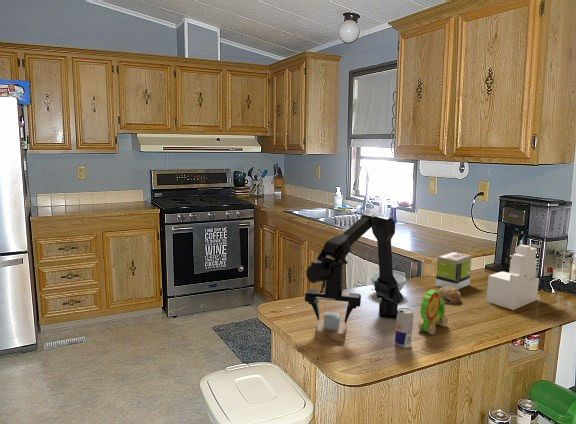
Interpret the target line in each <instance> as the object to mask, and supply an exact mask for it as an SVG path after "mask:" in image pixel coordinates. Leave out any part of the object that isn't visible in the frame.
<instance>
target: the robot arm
mask: <svg viewBox="0 0 576 424" xmlns="http://www.w3.org/2000/svg"><path fill="white" fill-rule="evenodd" d="M370 229H371V230H372V231H371V232H372V235H373V236H374V238H375V240H376V242H377V256H378V271H379V272H378V273H379V277H378V279H377V280H376V281H375V282H374V284H375V287H374V291H375V294H376V297H377V299H380V301H379V306H378V314H379V316H380V318H387V319H388V318H390V319H396V316H397V310H398V309H399V307H398V306H399V304H401V303H402V302H403V300H404V295H403V294H402V292H401V290H400V291H399V289H398V283H397V281H396V279H395V278H394V276H393V274H394V271H393V256H392V255H393V254H392V253H393V252H392V238H393V237H394V235H395V233H396V221H395V220H394V219H393V218H392V217H387V216H383V215H374V214H370V213H364V214H362V215H361V216H360V218H359V219H358V220H356V222H354V223H353V224H351V226H349V227H348V229H346V230H344V232H343V233H342V234H339V235H337V236H333V237H332V238H330V239H329V240H327V241H326V242H325V243H324V245H323V247H322V249H321V251H320V253H319V254H318V256H317V258H316V260H317V261H311V263H310V265H309V266H308V267H307V268H306V273H305V275H306V278H307V280H308V282H309V283H311V284H316V283H320V282H322V285H321V286H322V288H324V293H319V289H313V288H308V289H306V292H305V294H304V302H306V303H308V305H311V307H312V309H313V311H314V313H315V317H316V320H317V322H318V321H319V320H320V300H326V301H336V302H347V306H346V311H345V317H344V322H345V323H346V322H347V323H348V320H349V316H350V314H351V313H352V311H353V309H354V310H355V309H357V307H358V308H359V307H361V301H362V296H361V294H360V293H357V292H356V293H354V292H349V295H344V294H343V289H344V288H343V287H344V286H343V274H344V273H343V272H344V265H346V264H348V261H347V260H346V259H345V258H346V257H347V256H348V254H349V253H350V252H351V247H352V245H353V244H355V243H356V242H357V241H358V240H359V239H360V238H361V237H362V236H363V235H364V234H365V233H367V232H368V231H369V230H370Z"/></svg>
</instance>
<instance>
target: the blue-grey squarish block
mask: <svg viewBox="0 0 576 424" xmlns="http://www.w3.org/2000/svg"><path fill="white" fill-rule="evenodd" d="M323 320H324V329H332V330H338V329H339V325H340V322H341V313H339V312H328V311H326V312H325V314H324V316H323Z"/></svg>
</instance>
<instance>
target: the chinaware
mask: <svg viewBox="0 0 576 424" xmlns="http://www.w3.org/2000/svg"><path fill="white" fill-rule="evenodd" d="M393 276H394V278H395V279H396V281H397V283H398V289H399V291H400V292H401V290H403V288H404V286H405V284H406V281H407V278H406V277H405V276H403V275H401V274H397V273H393ZM378 277H379V272H376V273H372V274H371V276H370V279H371V280H370V281H371V283H372V286H373V287H374V288H375V284H374V282H375V281H376V280H377V279H378Z"/></svg>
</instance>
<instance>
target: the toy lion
mask: <svg viewBox="0 0 576 424" xmlns="http://www.w3.org/2000/svg"><path fill="white" fill-rule="evenodd" d="M437 291H438V290H436V289H430V290H429V291H427V292H426V294H425V295H424V296H423V298H422V301H421V304H420V312H419V313H420V315H421V319H422V320H421V321H420V322H419V324H418V328H417V329H418V331H419V332H426V333H428V334H430V335H432V336H434V335H435V333H436V330H437V326H436V325H440V326H441V327H444V328H446V326H447V324H448V320H449V319H448V317H447V316H445V315H446V314H445V312H446V303H445V302H444V300H443V299H441V296H440V293H439V292H437Z"/></svg>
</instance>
